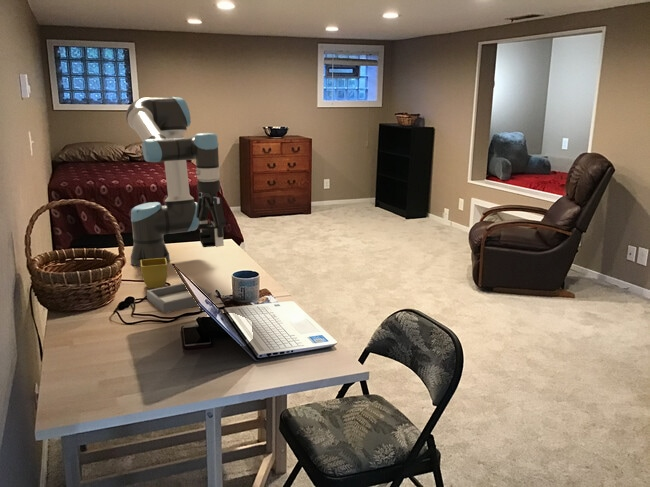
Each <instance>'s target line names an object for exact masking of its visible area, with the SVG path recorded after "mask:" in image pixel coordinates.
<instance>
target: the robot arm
mask: <svg viewBox="0 0 650 487" xmlns="http://www.w3.org/2000/svg"><path fill="white" fill-rule="evenodd" d="M188 105H189V104H188V103H187V102H186V100H185V99H184V98H182V97H177V96H176V97H175V96H159V97H157V96H156V97H155V96H154V97H141V98H139V99H137V100H135V101H133V102H131V104H130V105H129V106H128V108H127V110H126V114H125V117H126V123H127V124H128V126H129V128H131V129H132V130H133V131H135V132H136V133H137V135H138V136H139V138H140V140H141V141H142V144H141V145H142V146H141V150H142V155H143V159H144V160H145V162H147V163H153V162H154V163H160V162H163V163H164V171H165V179H166V181H165V182H166V189H167V197H166V199H165V200H164V205H162V204H161V202H159V201H153V202H144V203H141V204H138V205H136V206H134V207H132V208H131V209H130V210H131V211H130V221H131V228H132V239H133V245H132V250H131V254H130V263H131V265H133V266H137V267H141V261H140V260H144V259H156V258H166V260H167V263H168V262H169V261H171V260H170V259H171V258H170V252H169V250H168V248H167V246H166V243H165V241H164V235H168V234H169V235H170V234H178V233H188V232H191V231H192V232H193V231H196V230H197V229H198V228H199V224H209V222H208V221H209V217H208V215H209V211H210V213H211V216H212V219H213V222H214V223H215V227H214V229H215V246H214V247H216V248H218V247H223V246H225V244H224V237H223V234H224V227H227V223H226V217H225V213H224V209H223V203H222V202H223V199H222V197H221V196H220V197H219V196H217V193H218V192H220V191H221V182H220V180H219V179H220V176H221V173H220V165H219V164H220V161H219V160H220V158H219V141H218V136H217V134H216V133H215V132H214V133H213V132H201V133H200V132H199V133H196V134H195V135H194V136H190V137H184V135H185V134H186V133H187V132H188V131H187V128H188V127H190V126H191V122H192V121H191V118H192V117H191V113H190V112H191V111H190V109H189V106H188ZM192 160H195V165H196V168H195V169H196V171H195V174H196V179H197V181H196V183H197V191H198V192H197V202H196V201H195V198H194V197H193V196H192V195H191V194H190V186H189V175H188V165H187V164H188V163H187V161H192ZM199 231H200V232H199V234H200V233H201V232H202V230H201V229H199Z"/></svg>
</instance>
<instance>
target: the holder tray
mask: <svg viewBox="0 0 650 487" xmlns="http://www.w3.org/2000/svg"><path fill="white" fill-rule="evenodd" d="M183 283H184V282H183ZM183 283H178V284H172V285H168V286H163V287H159V288H151V289H147V290H146V298H147V301H149V303H151V304H152V305H153V306H155V307H156V308H157V309H158V310H160V311H161V313H163V314H167V313H170V312H175V311H180V310H184V309H188V308H193V307H197V306H198V305H197V303H196V302H195V300H194V299H193V298H192V296H191V295H190V294H189V292H188V290H187V289H186V287H185V285H184V284H183ZM194 283H195V284H196V285H197V286H198V287H199V288H200V289H201V290H202V291H203V292H204V293H205V294H206V295H207V296H208V297H209V298H210V299H211V300H212V293H211V292H210V291H208V290H207V289H205V288H203V287H202V286H200V285H199V284H197V283H196V282H194Z"/></svg>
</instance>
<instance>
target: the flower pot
mask: <svg viewBox="0 0 650 487" xmlns="http://www.w3.org/2000/svg"><path fill="white" fill-rule="evenodd" d="M140 261H141V266H140V269H141V274H142V275H141V276H142V279H143V282H144V284H145V286H146V287H147V289H157V288H162V287H165V284H166V282H167V277H168V262H167V260H166V258H156V259H144V260H140Z"/></svg>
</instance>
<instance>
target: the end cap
mask: <svg viewBox="0 0 650 487" xmlns="http://www.w3.org/2000/svg"><path fill="white" fill-rule="evenodd" d="M214 227H215V223H214V220H213V221H212V220H211V221H209V223H208V224H200V223H199V226H198V228H199V230H200V229H201V230H202V232H201V233H200V232H199V239H200V240H199V242H200V243H201V245H202V247H203V248H213V247H215V229H214ZM224 237H225V236H224V233H223V238H224Z"/></svg>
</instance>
